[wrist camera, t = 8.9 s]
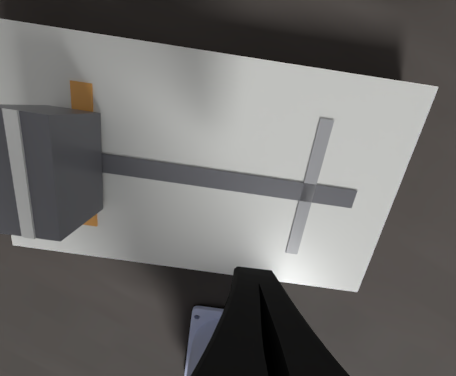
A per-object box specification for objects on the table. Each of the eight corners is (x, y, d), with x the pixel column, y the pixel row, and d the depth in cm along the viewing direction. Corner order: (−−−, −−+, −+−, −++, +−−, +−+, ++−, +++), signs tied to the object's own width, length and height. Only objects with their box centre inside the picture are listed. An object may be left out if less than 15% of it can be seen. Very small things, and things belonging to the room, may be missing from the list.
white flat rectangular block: (340, 266, 20) (358, 293, 17) (44, 225, 20) (11, 245, 17) (401, 90, 16) (440, 86, 13) (22, 31, 15) (-29, 13, 12)
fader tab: (103, 208, 15) (59, 242, 12) (56, 202, 15) (-4, 234, 11) (100, 112, 14) (46, 114, 10) (47, 105, 13) (-29, 103, 10)
